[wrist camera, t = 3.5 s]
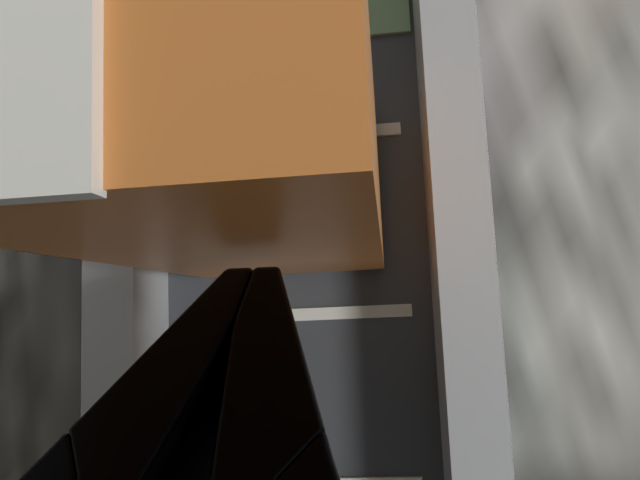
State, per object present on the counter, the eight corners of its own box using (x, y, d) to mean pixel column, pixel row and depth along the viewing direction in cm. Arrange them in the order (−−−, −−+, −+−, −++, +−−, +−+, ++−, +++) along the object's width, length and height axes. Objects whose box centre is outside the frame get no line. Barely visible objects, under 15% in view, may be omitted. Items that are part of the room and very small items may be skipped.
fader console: (490, 558, 15) (528, 653, 11) (157, 556, 16) (79, 641, 12) (440, -114, 17) (456, -243, 13) (152, -78, 18) (85, -186, 14)
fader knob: (384, 271, 13) (371, 172, 3) (206, 279, 14) (-263, 218, 4) (375, 105, 14) (340, -408, 4) (203, 120, 14) (-221, -301, 4)
